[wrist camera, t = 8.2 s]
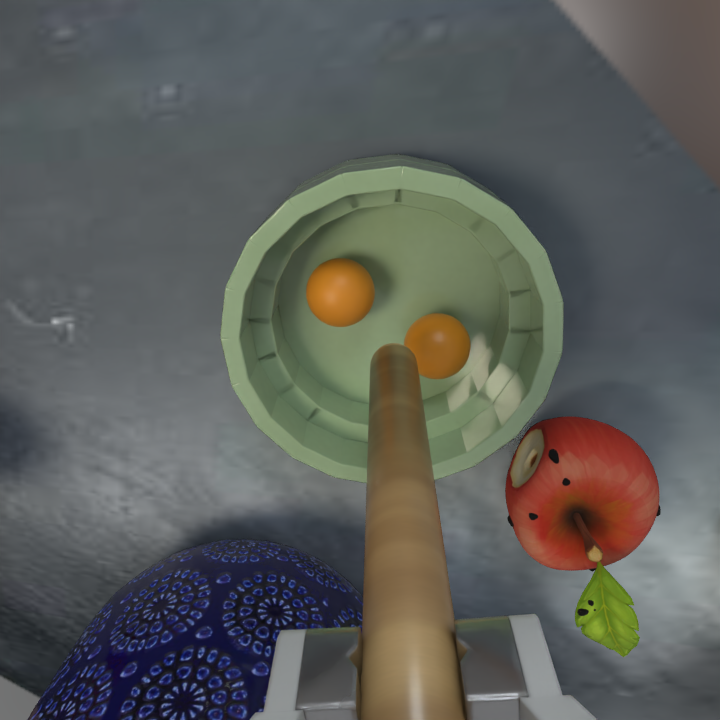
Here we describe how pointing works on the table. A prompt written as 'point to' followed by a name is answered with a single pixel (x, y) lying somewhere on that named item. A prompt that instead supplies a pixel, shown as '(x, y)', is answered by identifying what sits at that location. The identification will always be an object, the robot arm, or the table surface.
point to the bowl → (392, 312)
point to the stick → (404, 558)
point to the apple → (584, 513)
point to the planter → (197, 634)
